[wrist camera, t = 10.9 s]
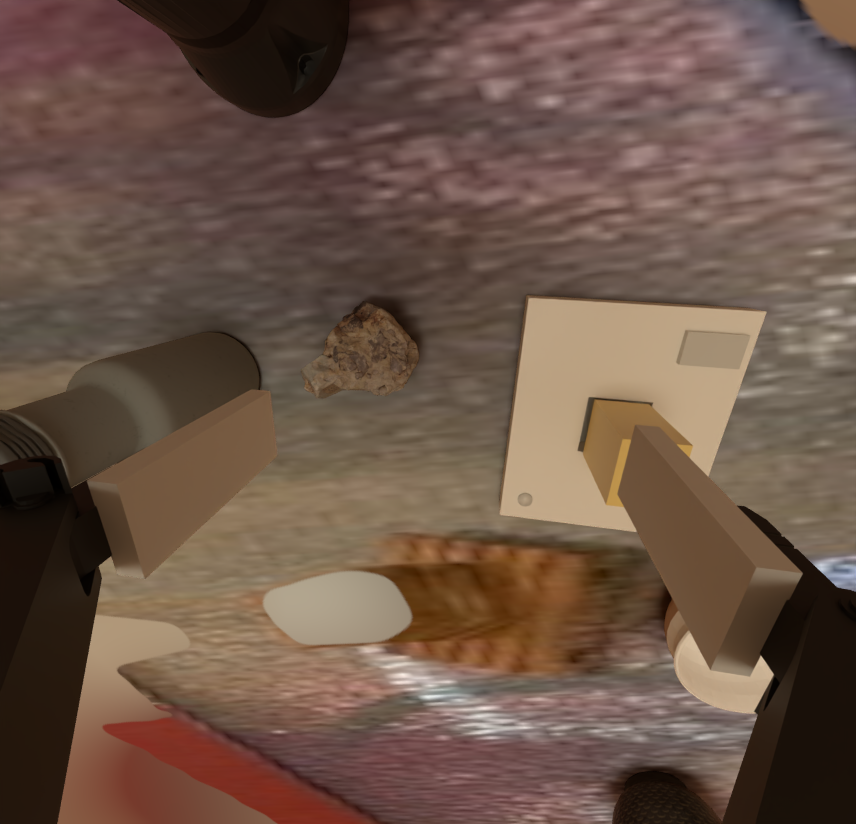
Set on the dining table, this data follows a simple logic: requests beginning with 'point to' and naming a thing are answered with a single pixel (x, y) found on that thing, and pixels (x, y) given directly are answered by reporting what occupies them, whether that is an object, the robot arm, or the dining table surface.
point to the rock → (363, 355)
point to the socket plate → (614, 392)
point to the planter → (661, 802)
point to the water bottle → (128, 403)
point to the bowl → (712, 684)
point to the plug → (619, 441)
